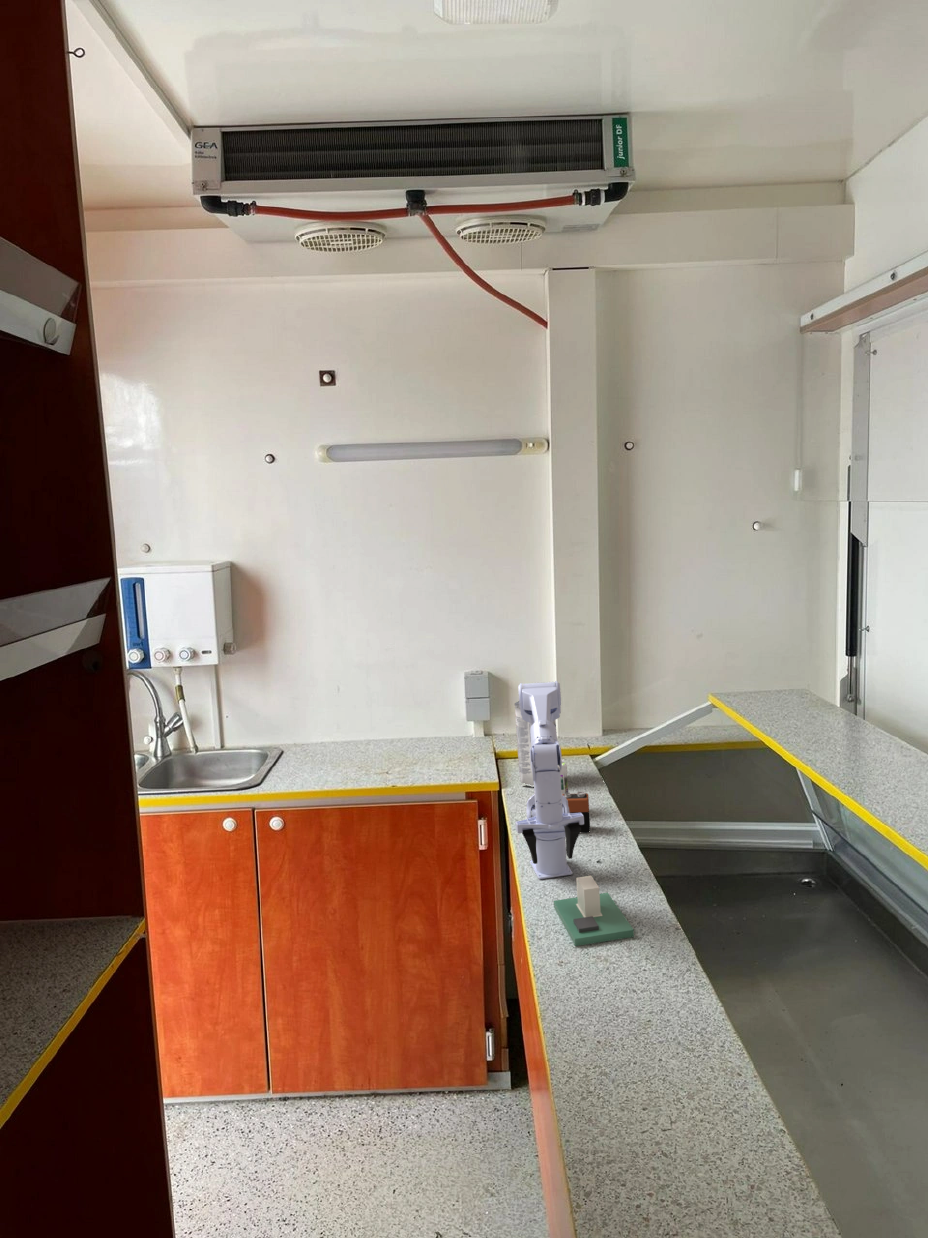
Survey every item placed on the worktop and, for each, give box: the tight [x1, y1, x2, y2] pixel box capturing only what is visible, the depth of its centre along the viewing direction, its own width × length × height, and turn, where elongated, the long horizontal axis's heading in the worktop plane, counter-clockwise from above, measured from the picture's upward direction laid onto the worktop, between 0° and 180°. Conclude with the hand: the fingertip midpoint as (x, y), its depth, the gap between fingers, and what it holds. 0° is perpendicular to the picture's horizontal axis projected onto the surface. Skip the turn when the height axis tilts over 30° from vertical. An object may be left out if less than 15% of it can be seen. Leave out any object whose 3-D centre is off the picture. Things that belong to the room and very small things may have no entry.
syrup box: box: [558, 759, 569, 794], centre depth 235 cm, size 6×6×14 cm
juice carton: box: [514, 700, 557, 785], centre depth 257 cm, size 9×10×27 cm
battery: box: [562, 790, 591, 833], centre depth 224 cm, size 4×7×10 cm, turn 83°
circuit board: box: [553, 892, 635, 947], centre depth 180 cm, size 16×12×3 cm
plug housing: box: [575, 875, 601, 917], centre depth 182 cm, size 7×3×6 cm, turn 9°
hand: (552, 859), depth 188 cm, fingers open, 7 cm apart
